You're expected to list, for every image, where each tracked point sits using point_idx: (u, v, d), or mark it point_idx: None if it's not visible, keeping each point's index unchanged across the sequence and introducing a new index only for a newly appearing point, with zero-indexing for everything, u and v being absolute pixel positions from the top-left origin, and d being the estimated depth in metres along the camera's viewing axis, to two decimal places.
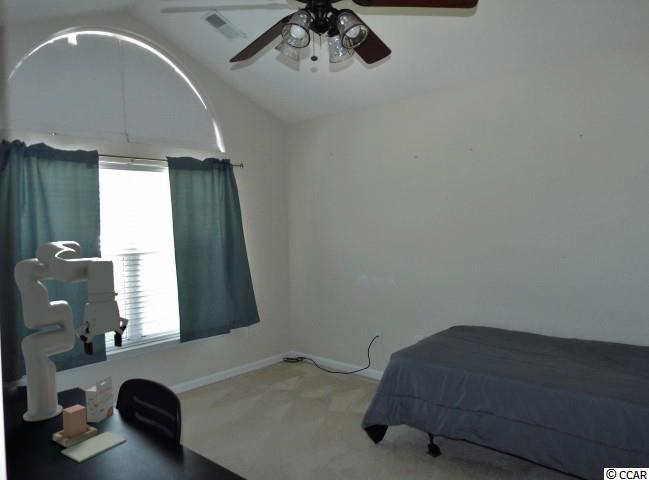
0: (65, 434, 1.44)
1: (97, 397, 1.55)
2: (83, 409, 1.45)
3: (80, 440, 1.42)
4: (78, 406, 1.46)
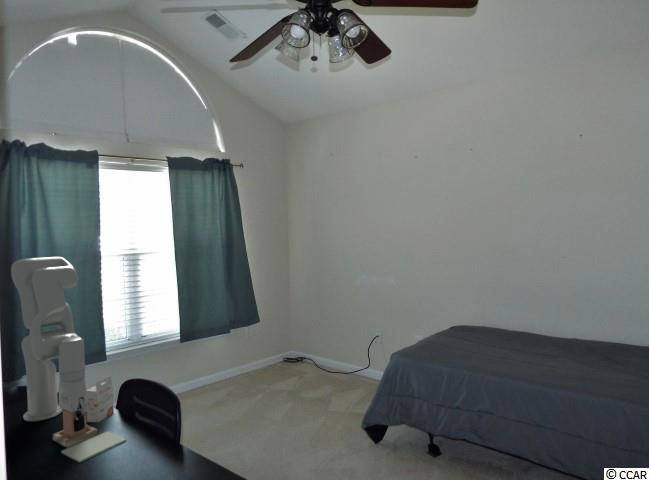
0: (65, 434, 1.44)
1: (97, 397, 1.55)
2: None
3: (80, 440, 1.42)
4: None
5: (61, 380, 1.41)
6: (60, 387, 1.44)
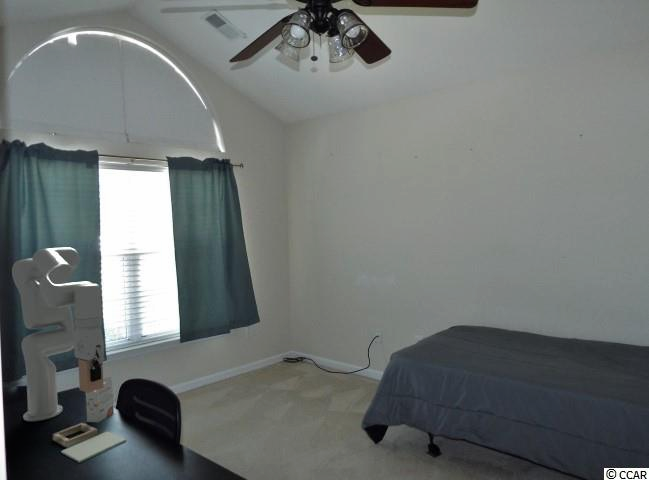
0: (80, 385, 1.36)
1: (97, 397, 1.55)
2: None
3: (80, 440, 1.42)
4: None
5: (77, 327, 1.34)
6: (76, 335, 1.37)
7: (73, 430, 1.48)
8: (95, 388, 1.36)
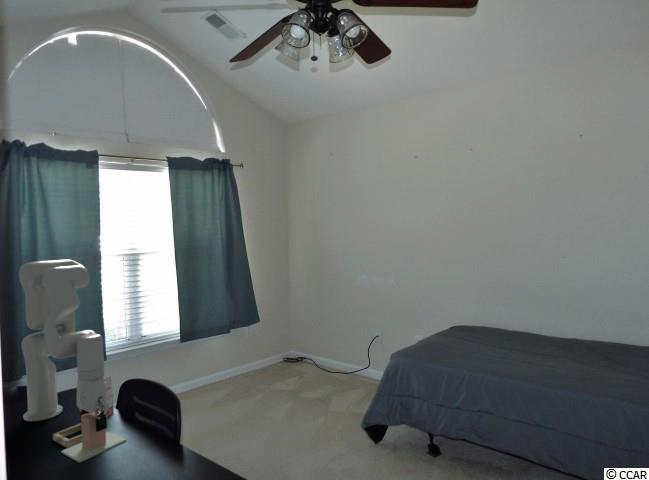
0: (83, 441, 1.37)
1: None
2: None
3: (80, 440, 1.42)
4: None
5: (80, 379, 1.34)
6: (78, 386, 1.37)
7: (73, 430, 1.48)
8: (97, 445, 1.37)
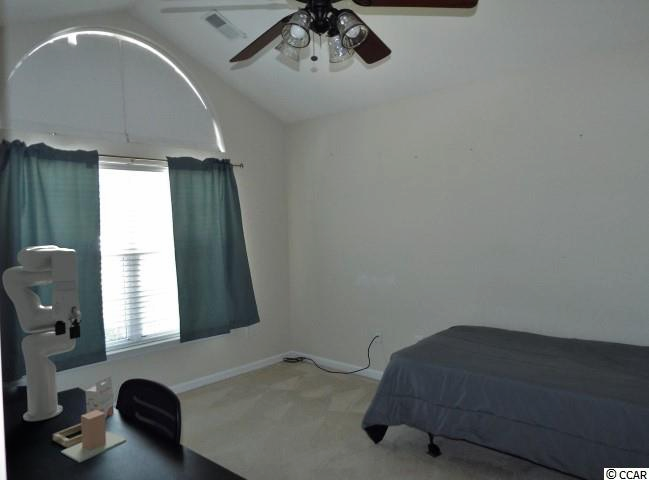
0: (83, 441, 1.37)
1: (97, 397, 1.55)
2: (102, 415, 1.38)
3: (80, 440, 1.42)
4: (97, 412, 1.40)
5: (54, 289, 1.41)
6: (53, 298, 1.44)
7: (73, 430, 1.48)
8: (97, 445, 1.37)
